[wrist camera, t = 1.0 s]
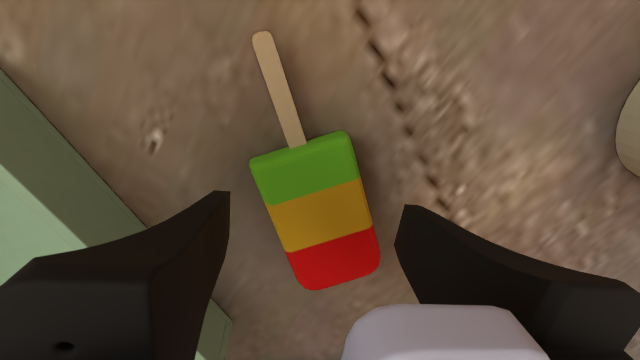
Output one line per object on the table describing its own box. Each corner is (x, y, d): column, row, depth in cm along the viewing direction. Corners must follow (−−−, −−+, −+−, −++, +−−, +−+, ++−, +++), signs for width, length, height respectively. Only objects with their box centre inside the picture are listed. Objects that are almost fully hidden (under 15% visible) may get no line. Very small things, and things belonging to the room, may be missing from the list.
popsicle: (301, 278, 21) (302, 299, 20) (207, 50, 15) (197, 50, 14) (378, 254, 21) (387, 272, 20) (314, 15, 15) (319, 11, 14)
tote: (232, 320, 22) (222, 375, 19) (97, 386, 23) (62, 450, 20) (-21, 44, 14) (-126, 44, 11) (-209, 164, 15) (-365, 202, 12)
